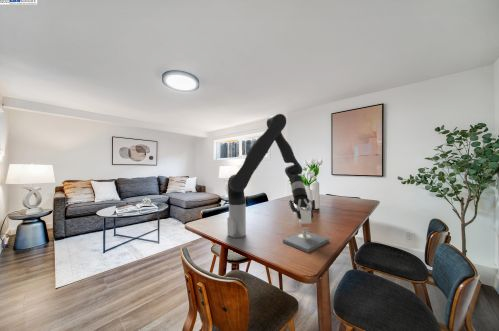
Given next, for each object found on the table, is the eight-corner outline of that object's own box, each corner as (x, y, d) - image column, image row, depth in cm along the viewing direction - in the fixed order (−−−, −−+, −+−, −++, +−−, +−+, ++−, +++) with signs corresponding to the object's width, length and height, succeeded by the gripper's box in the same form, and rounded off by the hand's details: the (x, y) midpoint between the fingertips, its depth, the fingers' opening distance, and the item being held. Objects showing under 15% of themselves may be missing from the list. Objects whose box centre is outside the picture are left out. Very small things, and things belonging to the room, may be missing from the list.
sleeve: (311, 227, 89) (311, 211, 89) (301, 227, 89) (300, 211, 89) (308, 223, 94) (307, 208, 94) (298, 224, 94) (298, 208, 94)
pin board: (308, 252, 78) (307, 240, 78) (282, 242, 89) (282, 231, 89) (328, 241, 89) (328, 230, 89) (304, 233, 100) (304, 223, 100)
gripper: (287, 187, 99) (292, 215, 87) (313, 186, 99) (322, 214, 87) (285, 195, 105) (290, 222, 92) (310, 194, 105) (318, 222, 92)
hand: (305, 218), depth 90 cm, fingers closed on sleeve, 5 cm apart
